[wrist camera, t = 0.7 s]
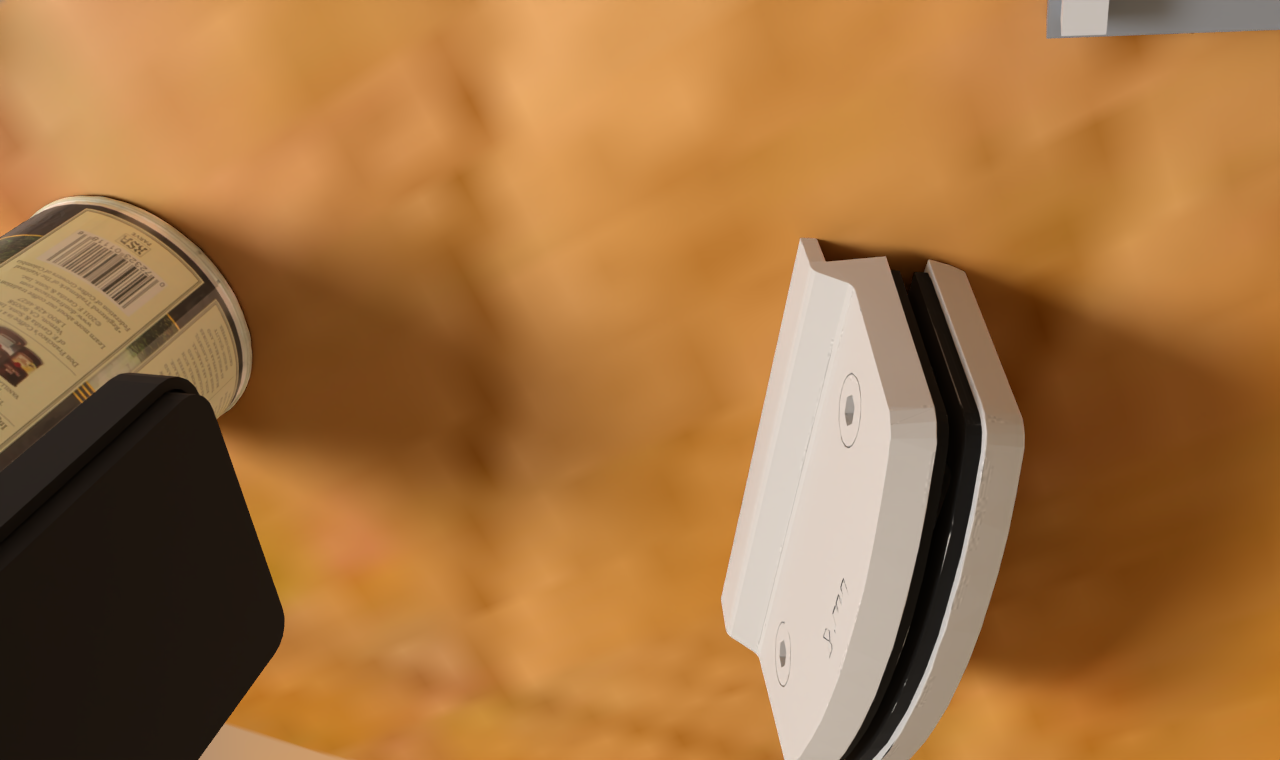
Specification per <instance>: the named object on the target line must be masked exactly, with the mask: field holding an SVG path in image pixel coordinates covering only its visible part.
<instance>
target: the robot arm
mask: <svg viewBox="0 0 1280 760" xmlns="http://www.w3.org/2000/svg"><path fill="white" fill-rule="evenodd" d="M283 631H284V613H283V608H282V606H281V603H280V600H279V597H278V594H277V591H276V588H275V586H274V583H273V580H272V577H271V574H270V571H269V568H268V565H267V563H266V560H265V557H264V554H263V551H262V548H261V545H260V542H259V540H258V537H257V534H256V531H255V528H254V525H253V522H252V520H251V517H250V514H249V511H248V508H247V505H246V502H245V499H244V497H243V494H242V491H241V488H240V485H239V482H238V479H237V476H236V474H235V471H234V468H233V465H232V462H231V459H230V456H229V453H228V451H227V448H226V445H225V442H224V439H223V436H222V433H221V431H220V428H219V425H218V422H217V419H216V416H215V413H214V410H213V408H212V406H211V404H210V402H209V401H208V400H207V399H206V398H205V397H204V396H201V395H199V393H198V391H197V389H196V387H195V386H194V385H193V384H192V383H191V382H190V381H189V380H187V379H184V378H181V377H177V376H165V375H153V374H142V373H122V374H118V375H117V376H115V377H113V378H112V379H110V380H109V381H107V382H106V383H105V384H104V385H103V386H102V387H100V388H99V389H98V390H97V391H96V392H94V393H93V394H92V395H91V396H90V397H89V398H87V399H86V400H85V401H84V402H83V403H81V404H80V405H79V406H78V407H77V408H76V409H74V410H73V411H72V412H71V413H70V414H69V415H67V416H66V417H65V418H64V419H63V420H61V421H60V422H59V423H58V424H57V425H56V426H54V427H53V428H52V429H51V430H50V431H48V432H47V433H46V434H45V435H44V436H43V437H41V438H40V439H39V440H38V441H37V442H35V443H34V444H33V445H32V446H31V447H30V448H28V449H27V450H26V451H25V452H24V453H23V454H21V455H20V456H19V457H18V458H17V459H15V460H14V461H13V462H12V463H11V464H10V465H8V466H7V467H6V468H5V469H4V470H2V471H1V472H0V760H198V759H199V758H200V756H201V755H202V754H203V752H204V751H205V749H206V748H207V747H208V745H209V744H210V743H211V741H212V740H213V738H214V737H215V736H216V734H217V733H218V732H219V730H220V728H221V727H222V726H223V725H224V723H225V722H226V720H227V719H228V718H229V716H230V715H231V714H232V712H233V711H234V709H235V708H236V707H237V705H238V704H239V702H240V701H241V700H242V698H243V697H244V695H245V694H246V693H247V691H248V690H249V689H250V687H251V686H252V684H253V683H254V682H255V680H256V679H257V677H258V676H259V675H260V673H261V672H262V671H263V669H264V668H265V666H266V665H267V664H268V662H269V661H270V659H271V658H272V657H273V655H274V654H275V652H276V651H277V649H278V647H279V645H280V642H281V639H282V637H283Z"/></svg>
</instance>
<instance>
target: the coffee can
mask: <svg viewBox="0 0 1280 760" xmlns="http://www.w3.org/2000/svg"><path fill="white" fill-rule="evenodd" d="M251 368H252V348H251V337H250V332H249V330H248V327H247V324H246V321H245V318H244V315H243V312H242V310H241V308H240V306H239V303H238V300H237V298H236V296H235V294H234V292H233V291H232V289H231V288H230V286H229V285H228V283H227V282H226V280H225V278H224V277H223V276H222V274H221V273H220V272H219V270H218V269H217V267H216V266H215V265H214V264H213V263H212V262H211V260H210V259H209V258H208V257H207V256H206V255H205V254H204V253H203V251H202V250H201V249H200V248H199V247H198V246H196V245H195V244H194V243H193V242H191V241H190V240H189V239H188V238H186V237H185V236H184V235H183V234H182V233H180V232H179V231H178V230H176V229H175V228H174V227H172V226H171V225H169V224H168V223H166V222H165V221H163V220H162V219H160V218H159V217H157V216H155V215H153V214H151V213H149V212H147V211H145V210H143V209H141V208H138V207H136V206H134V205H131V204H129V203H126V202H122V201H118V200H114V199H111V198H108V197H102V196H74V197H67V198H63V199H59V200H57V201H54V202H52V203H50V204H48V205H46V206H44V207H43V208H41V209H40V210H39V211H37V212H36V213H35V214H34V215H33V216H32V217H31V218H30V219H28V220H27V221H25V222H23V223H21V224H20V225H19V226H17V227H15V228H14V229H12V230H11V231H9V232H8V233H6V234H5V235H3V236H1V237H0V472H1V471H2V470H4V469H5V468H6V467H7V466H8V465H10V464H11V463H12V462H13V461H14V460H15V459H17V458H18V457H19V456H20V455H21V454H23V453H24V452H25V451H26V450H27V449H28V448H30V447H31V446H32V445H33V444H34V443H35V442H37V441H38V440H39V439H40V438H41V437H43V436H44V435H45V434H46V433H47V432H48V431H50V430H51V429H52V428H53V427H54V426H56V425H57V424H58V423H59V422H60V421H61V420H63V419H64V418H65V417H66V416H67V415H69V414H70V413H71V412H72V411H73V410H74V409H76V408H77V407H78V406H79V405H80V404H81V403H83V402H84V401H85V400H86V399H87V398H89V397H90V396H91V395H92V394H93V393H94V392H96V391H97V390H98V389H99V388H100V387H102V386H103V385H104V384H105V383H106V382H107V381H109V380H110V379H112V378H113V377H115V376H117V375H118V374H122V373H142V374H153V375H165V376H177V377H181V378H184V379H187V380H189V381H190V382H191V383H192V384H193V385H194V386H195V387H196V389H197V391H198V393H199V395H201V396H204V397H205V398H206V399H207V400H208V401H209V402H210V404H211V406H212V408H213V410H214V413H215V416H216V419H218V418H219V417H220V416H221V415H223V414H224V413H226V412H227V411H228V410H230V409H231V408H232V407H233V406H234V405H235V404H236V402H237V401H238V400H239V398H240V397H241V396H242V394H243V393H244V391H245V389H246V387H247V384H248V381H249V378H250V374H251Z"/></svg>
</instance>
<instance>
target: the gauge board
mask: <svg viewBox="0 0 1280 760" xmlns="http://www.w3.org/2000/svg"><path fill="white" fill-rule="evenodd" d="M1256 30H1280V0H1048V6H1047V38H1073V37H1099V36H1125V35H1151V34H1178V33H1204V32H1230V31H1256Z"/></svg>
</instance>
